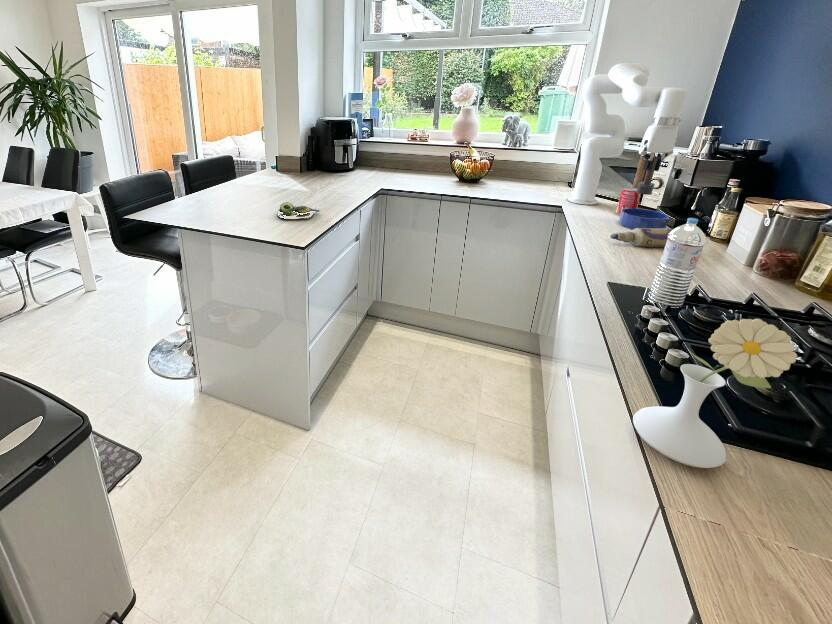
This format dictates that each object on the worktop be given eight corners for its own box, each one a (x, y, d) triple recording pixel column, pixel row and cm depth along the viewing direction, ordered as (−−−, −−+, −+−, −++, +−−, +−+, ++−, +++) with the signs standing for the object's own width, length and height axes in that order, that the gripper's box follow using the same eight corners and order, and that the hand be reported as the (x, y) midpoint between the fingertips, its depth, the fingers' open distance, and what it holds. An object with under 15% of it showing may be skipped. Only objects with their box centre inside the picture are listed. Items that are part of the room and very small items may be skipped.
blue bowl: (610, 220, 172) (613, 208, 170) (645, 220, 172) (649, 208, 170) (636, 232, 158) (640, 219, 156) (674, 232, 157) (678, 219, 155)
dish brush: (632, 191, 163) (643, 154, 158) (645, 191, 163) (656, 154, 158) (642, 194, 158) (653, 157, 153) (655, 194, 158) (667, 156, 153)
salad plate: (320, 209, 190) (320, 200, 189) (319, 220, 174) (318, 210, 172) (280, 209, 191) (280, 199, 190) (275, 220, 175) (274, 210, 173)
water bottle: (662, 304, 105) (693, 214, 97) (685, 318, 99) (721, 223, 90) (637, 305, 105) (666, 214, 96) (659, 318, 99) (692, 223, 90)
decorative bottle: (679, 243, 146) (684, 226, 144) (693, 251, 139) (700, 233, 137) (602, 240, 150) (607, 223, 147) (613, 247, 143) (618, 230, 140)
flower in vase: (616, 433, 66) (662, 302, 57) (648, 407, 72) (694, 283, 63) (720, 498, 56) (795, 350, 47) (748, 461, 61) (820, 322, 52)
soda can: (628, 213, 181) (635, 187, 177) (638, 217, 175) (646, 191, 171) (611, 212, 182) (618, 187, 178) (621, 217, 176) (628, 190, 171)
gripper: (677, 121, 154) (663, 168, 161) (636, 121, 154) (623, 168, 161) (694, 123, 147) (678, 172, 154) (651, 123, 147) (637, 172, 154)
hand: (650, 170), depth 157 cm, fingers closed on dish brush, 2 cm apart
